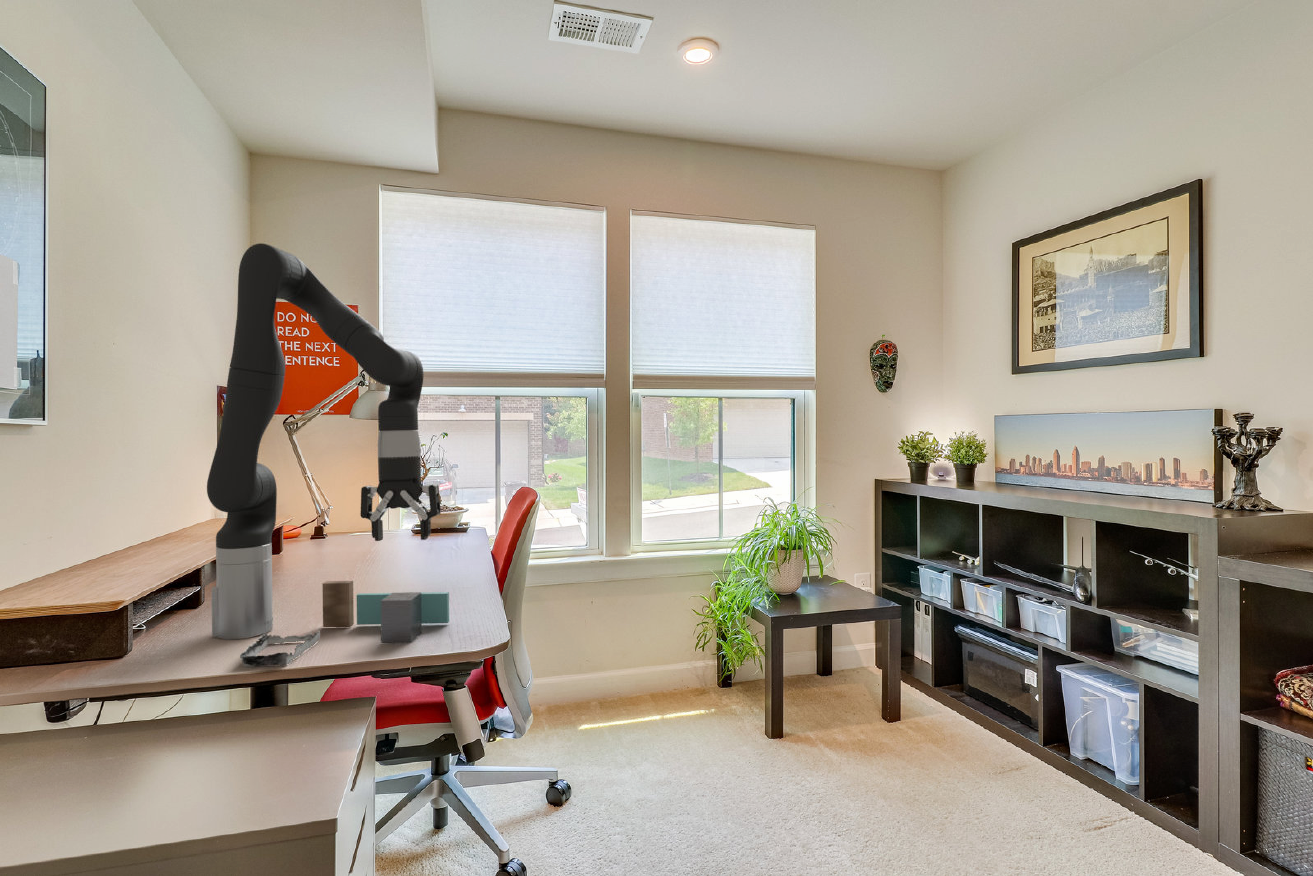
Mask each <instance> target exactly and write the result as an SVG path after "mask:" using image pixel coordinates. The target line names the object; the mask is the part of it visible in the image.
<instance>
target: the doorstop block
mask: <svg viewBox="0 0 1313 876" xmlns="http://www.w3.org/2000/svg"><path fill="white" fill-rule="evenodd" d="M390 593H391V594H390V595H388V596H387V597H386V598H384V599H383V600H381V624H380V644H381V643H388V644H412V643H413V642H414V641H415V640H416V639H417V638H418V637H419V636H420V635H422V634H423V628H422V625H423V624H422V615H421V593H422V592H421V591H420V592H418V591H417V592H416V591H415V592H414V591H413V592H390ZM417 636H418V637H417Z"/></svg>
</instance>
